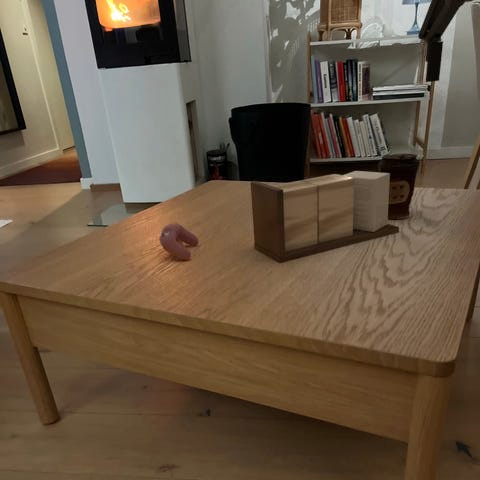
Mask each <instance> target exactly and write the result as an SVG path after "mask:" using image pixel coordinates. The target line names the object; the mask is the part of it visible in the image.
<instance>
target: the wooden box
mask: <svg viewBox="0 0 480 480" xmlns="http://www.w3.org/2000/svg"><path fill="white" fill-rule="evenodd" d="M250 196H251V197H250V198H251V212H252V225H253V240H254V241H253V242H254V244H253V248H254V249H255V250H256V251H258V252H259V253H262V254H264V255H265V256H267V257H269V258H270V259H271V260H274V261H276V262H278V263H284V262H285V263H286V262H289V261H292V260H296V259H300V258H303V257H307V256H312V255H315V254H320V253H323V252H327V251H330V250H331V251H332V250H335V249H338V248H342V247H346V246H350V245H355V244H358V243H362V242H365V241H369V240H374V239H377V238H381V237H385V236H388V235H392V234H396V233H399V232H400V226H398V225H397V226H396V225H393V224H390V223H388V222H387V225H386V226H384V227H382V228H380V229H378V230H377V231H375V232H369V231H363V230H357V229H353V205H354V178H351V177H347V176H342V174H338V173H333V174H327V175H322V176H318V177H317V176H316V177H312V178H307V179H301V180H297V181H291V182H284V183H280V184H275V185H270V184H266V183H264V182H261V181H258V180H253V181H250Z"/></svg>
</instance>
